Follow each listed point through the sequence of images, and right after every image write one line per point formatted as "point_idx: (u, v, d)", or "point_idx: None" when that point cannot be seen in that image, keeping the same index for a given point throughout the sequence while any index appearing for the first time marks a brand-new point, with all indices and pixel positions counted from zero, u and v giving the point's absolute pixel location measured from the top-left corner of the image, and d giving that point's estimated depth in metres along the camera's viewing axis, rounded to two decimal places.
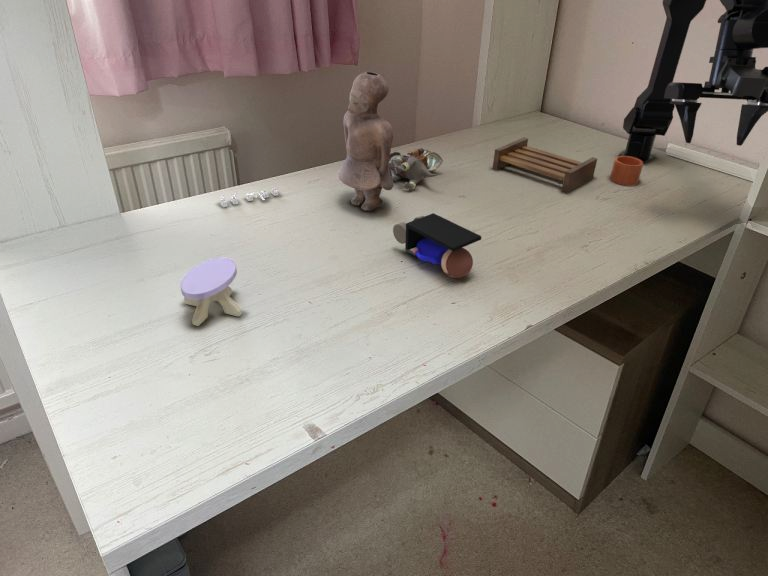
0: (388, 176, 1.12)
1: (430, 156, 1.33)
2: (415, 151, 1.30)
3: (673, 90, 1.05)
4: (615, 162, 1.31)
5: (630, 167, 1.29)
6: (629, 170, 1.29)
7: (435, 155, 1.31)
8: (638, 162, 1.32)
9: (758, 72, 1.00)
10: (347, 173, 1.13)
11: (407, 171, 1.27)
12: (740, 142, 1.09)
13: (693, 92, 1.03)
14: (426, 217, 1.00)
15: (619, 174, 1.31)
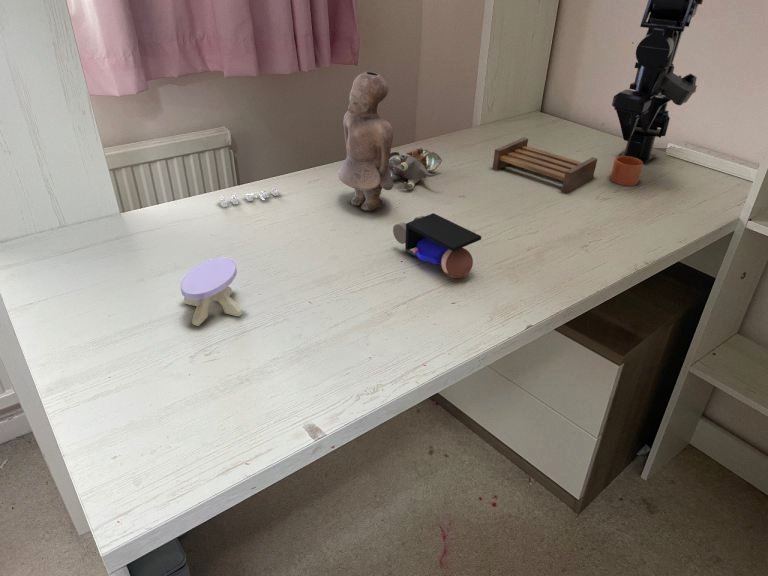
0: (388, 176, 1.12)
1: (429, 156, 1.33)
2: (414, 151, 1.30)
3: (631, 103, 1.17)
4: (615, 162, 1.31)
5: (630, 167, 1.29)
6: (629, 170, 1.29)
7: (434, 155, 1.31)
8: (638, 162, 1.32)
9: (684, 81, 1.19)
10: (347, 173, 1.13)
11: (406, 171, 1.27)
12: (647, 128, 1.31)
13: (647, 104, 1.18)
14: (426, 217, 1.00)
15: (619, 174, 1.31)
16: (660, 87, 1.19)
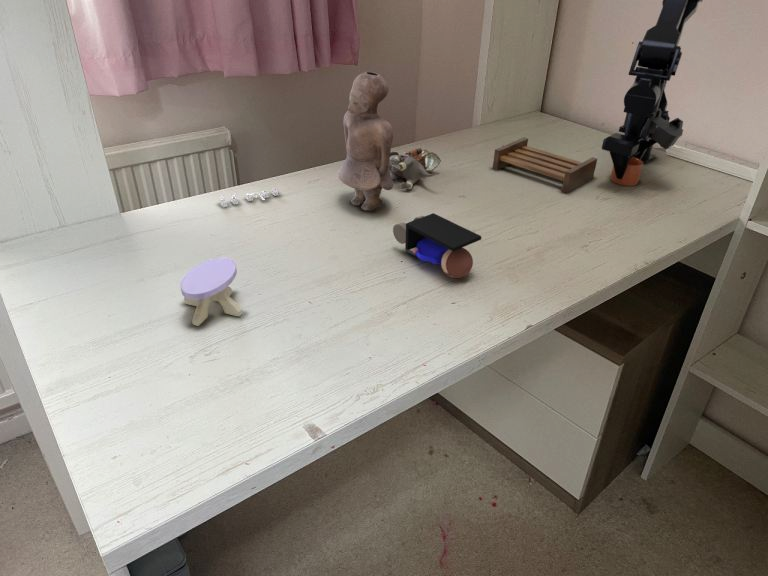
0: (388, 176, 1.12)
1: (428, 156, 1.33)
2: (413, 151, 1.30)
3: (620, 147, 1.22)
4: None
5: (630, 167, 1.29)
6: (629, 170, 1.29)
7: (433, 155, 1.31)
8: (638, 162, 1.32)
9: (671, 125, 1.24)
10: (347, 173, 1.13)
11: (404, 171, 1.27)
12: None
13: (635, 148, 1.22)
14: (426, 217, 1.00)
15: None
16: (648, 131, 1.23)
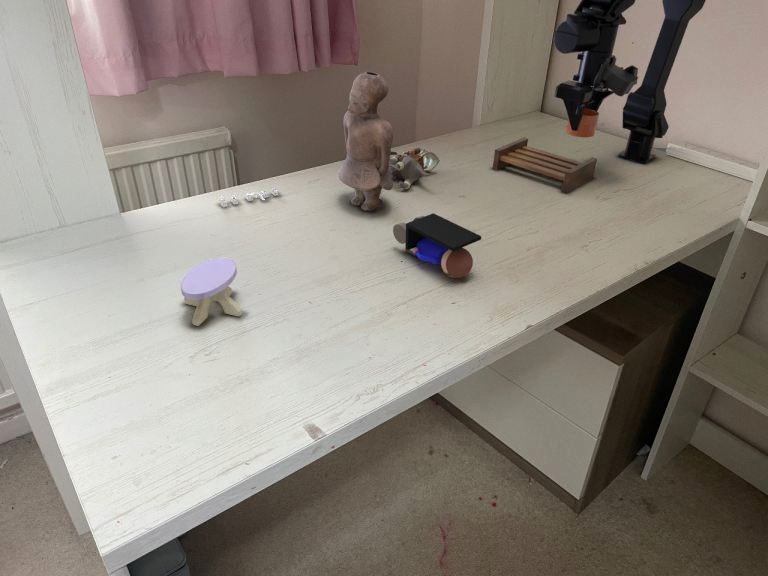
0: (388, 176, 1.12)
1: (427, 156, 1.33)
2: (411, 151, 1.30)
3: (572, 93, 1.18)
4: None
5: (585, 117, 1.25)
6: (584, 121, 1.25)
7: (432, 155, 1.31)
8: (594, 114, 1.28)
9: (626, 72, 1.20)
10: (347, 173, 1.13)
11: (402, 170, 1.27)
12: None
13: (588, 95, 1.18)
14: (426, 217, 1.00)
15: None
16: (601, 78, 1.19)
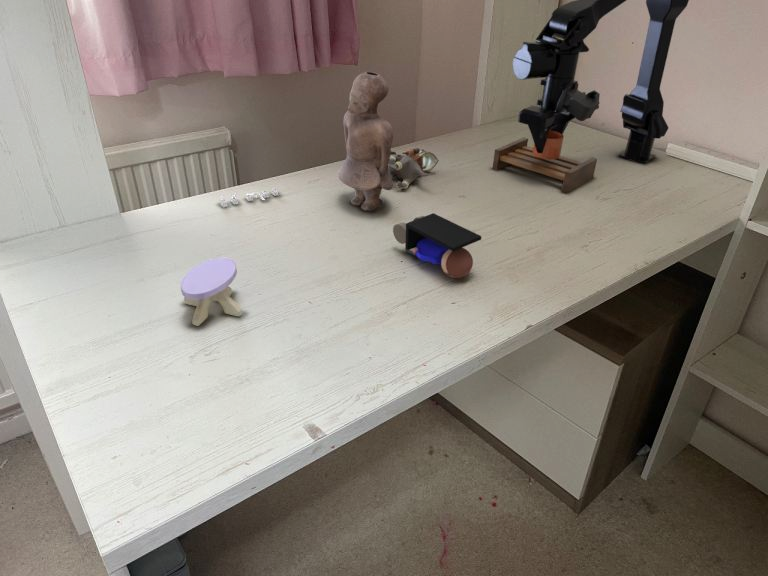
0: (388, 176, 1.12)
1: (426, 156, 1.33)
2: (410, 151, 1.30)
3: (534, 119, 1.21)
4: None
5: (549, 140, 1.28)
6: (549, 144, 1.29)
7: (431, 155, 1.31)
8: (559, 136, 1.31)
9: (587, 97, 1.24)
10: (347, 173, 1.13)
11: (401, 170, 1.27)
12: None
13: (550, 120, 1.22)
14: (426, 217, 1.00)
15: None
16: (563, 103, 1.23)
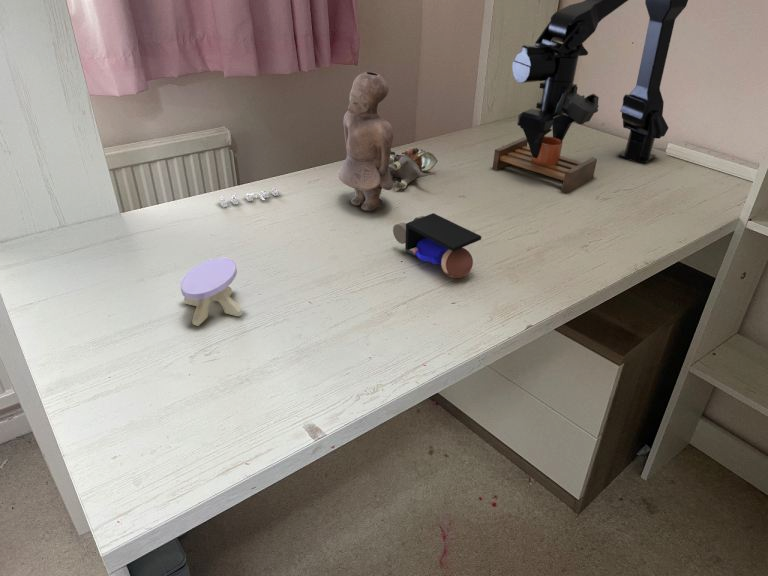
0: (388, 176, 1.12)
1: (425, 156, 1.33)
2: (409, 151, 1.30)
3: (533, 122, 1.22)
4: None
5: (548, 147, 1.29)
6: (548, 150, 1.30)
7: (430, 155, 1.31)
8: (558, 142, 1.32)
9: (586, 101, 1.24)
10: (347, 173, 1.13)
11: (399, 170, 1.27)
12: None
13: (549, 123, 1.22)
14: (426, 217, 1.00)
15: None
16: (562, 107, 1.23)
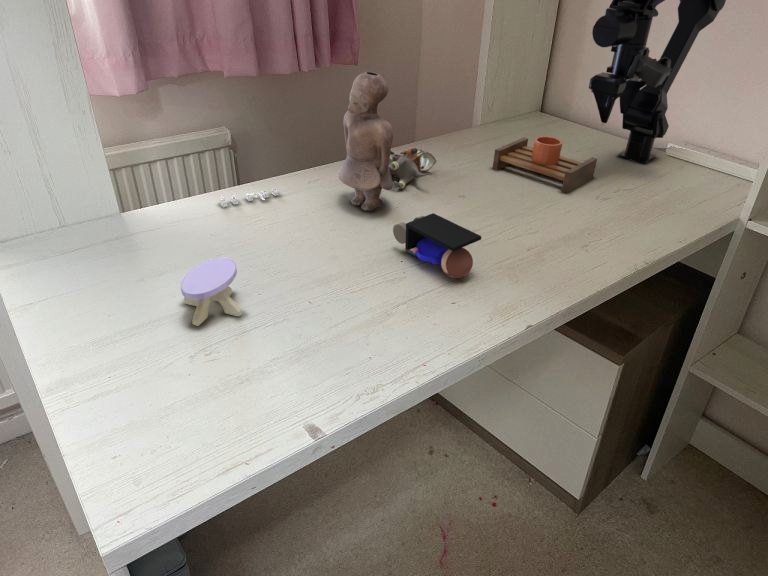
0: (388, 176, 1.12)
1: (424, 156, 1.33)
2: (408, 150, 1.30)
3: (606, 85, 1.21)
4: (535, 142, 1.31)
5: (548, 147, 1.29)
6: (548, 150, 1.30)
7: (428, 155, 1.31)
8: (558, 142, 1.32)
9: (659, 64, 1.23)
10: (347, 173, 1.13)
11: (398, 170, 1.27)
12: (625, 111, 1.34)
13: (622, 86, 1.21)
14: (426, 217, 1.00)
15: (538, 154, 1.31)
16: (635, 70, 1.22)
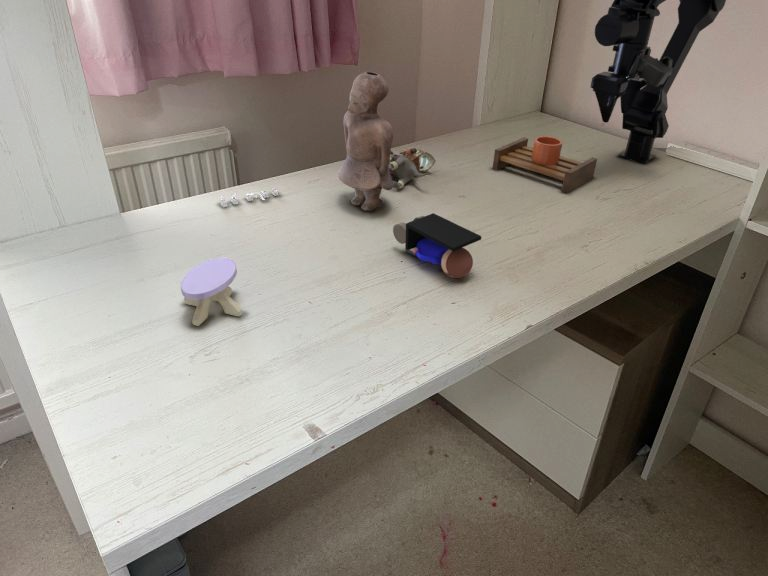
0: (388, 176, 1.12)
1: (423, 156, 1.33)
2: (407, 151, 1.30)
3: (608, 84, 1.21)
4: (535, 142, 1.31)
5: (548, 147, 1.29)
6: (548, 150, 1.30)
7: (428, 155, 1.31)
8: (558, 142, 1.32)
9: (660, 63, 1.23)
10: (347, 173, 1.13)
11: (397, 170, 1.27)
12: (626, 111, 1.34)
13: (624, 85, 1.21)
14: (426, 217, 1.00)
15: (538, 154, 1.31)
16: (637, 69, 1.22)
